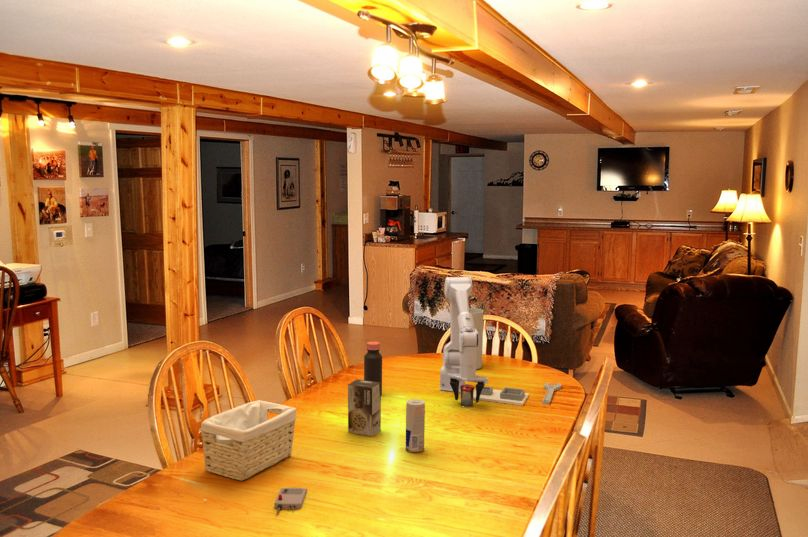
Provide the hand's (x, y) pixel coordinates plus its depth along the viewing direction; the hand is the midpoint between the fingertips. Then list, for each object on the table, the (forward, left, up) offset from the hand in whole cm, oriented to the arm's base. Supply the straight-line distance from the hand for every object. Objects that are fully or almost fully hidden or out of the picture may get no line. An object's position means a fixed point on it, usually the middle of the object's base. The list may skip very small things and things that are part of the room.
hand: (467, 400), depth 249 cm
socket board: (+9, +13, -2) cm, 16 cm away
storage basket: (-44, -73, -2) cm, 85 cm away
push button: (0, 0, -2) cm, 2 cm away
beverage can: (-4, -46, -2) cm, 46 cm away
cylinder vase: (-13, +50, -2) cm, 52 cm away
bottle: (-36, -2, -2) cm, 36 cm away
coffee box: (-24, -38, -2) cm, 45 cm away
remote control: (-22, -89, -2) cm, 92 cm away
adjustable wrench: (+26, +24, -2) cm, 35 cm away
